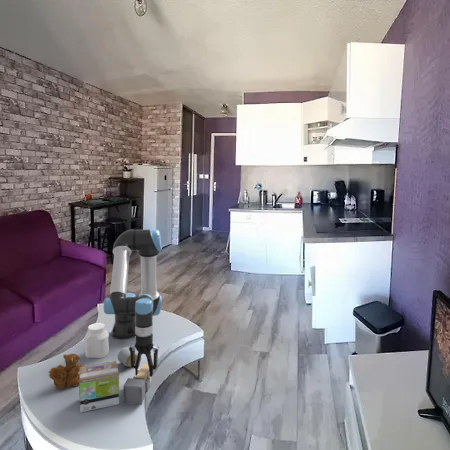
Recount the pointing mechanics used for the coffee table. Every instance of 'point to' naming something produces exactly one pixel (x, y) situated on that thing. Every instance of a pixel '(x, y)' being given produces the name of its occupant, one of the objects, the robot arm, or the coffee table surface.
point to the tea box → (98, 386)
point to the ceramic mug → (126, 356)
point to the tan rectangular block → (143, 372)
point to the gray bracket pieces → (135, 390)
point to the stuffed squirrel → (66, 372)
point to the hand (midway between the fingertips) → (144, 382)
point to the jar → (96, 341)
